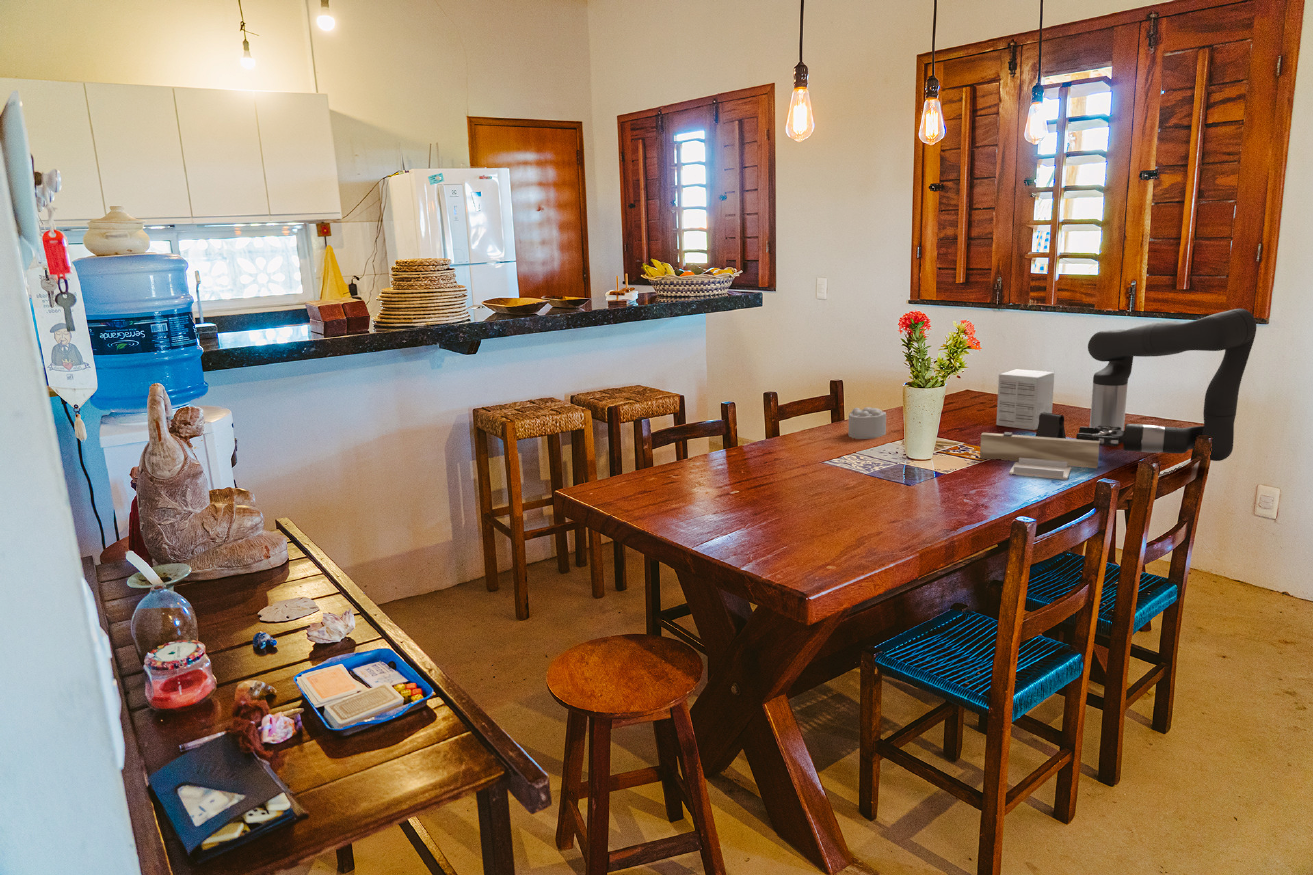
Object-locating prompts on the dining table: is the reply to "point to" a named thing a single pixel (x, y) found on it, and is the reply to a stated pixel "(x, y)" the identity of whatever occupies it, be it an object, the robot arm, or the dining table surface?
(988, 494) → the dining table surface
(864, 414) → the lumpy-topped squat cylinder
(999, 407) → the supplement box
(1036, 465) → the keeper plate
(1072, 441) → the door board
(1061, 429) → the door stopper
